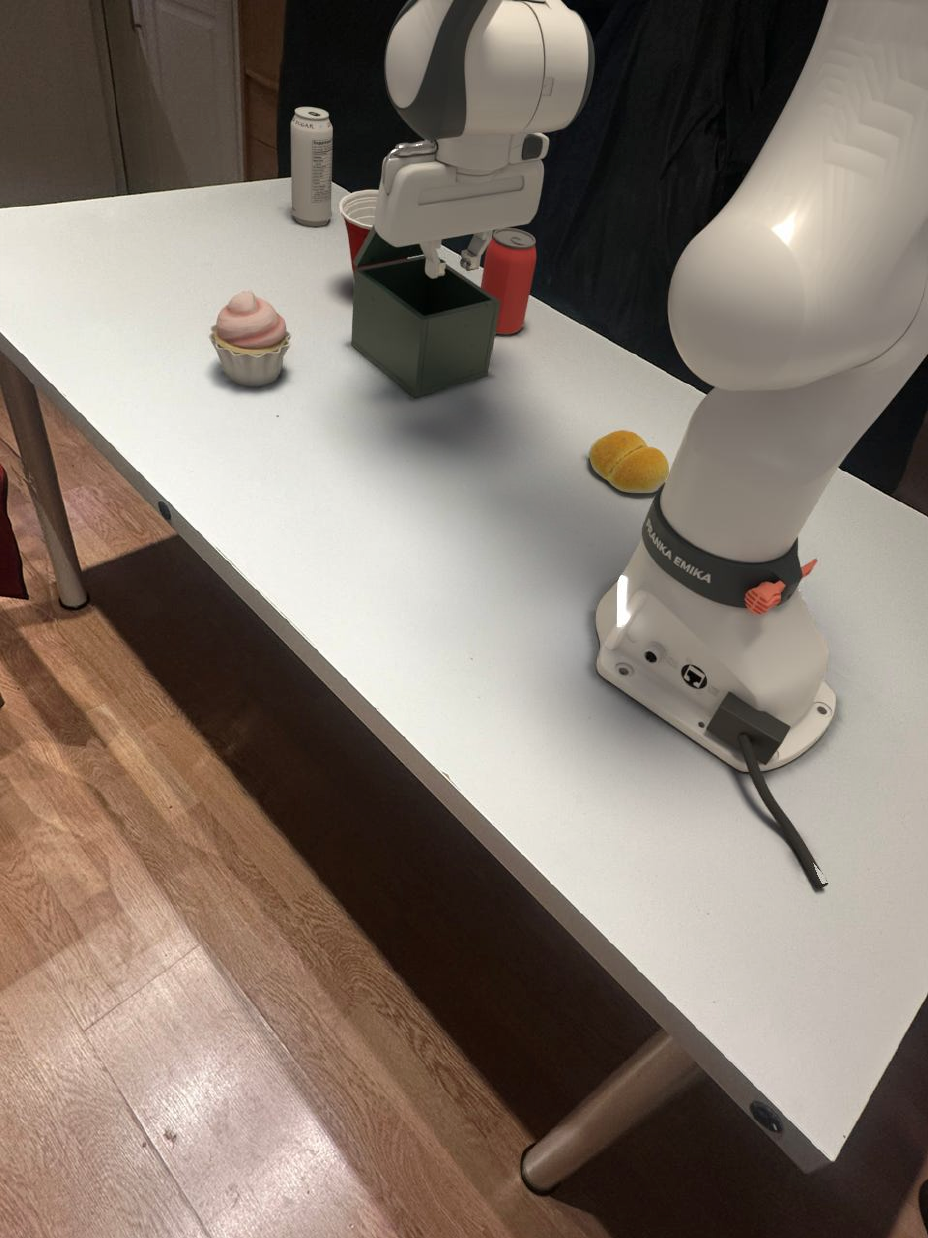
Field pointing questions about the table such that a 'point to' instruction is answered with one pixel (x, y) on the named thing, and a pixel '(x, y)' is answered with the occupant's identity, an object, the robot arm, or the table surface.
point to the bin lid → (383, 251)
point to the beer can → (510, 275)
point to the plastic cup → (359, 219)
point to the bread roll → (629, 462)
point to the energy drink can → (311, 166)
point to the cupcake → (250, 340)
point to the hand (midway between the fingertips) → (452, 271)
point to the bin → (423, 325)
